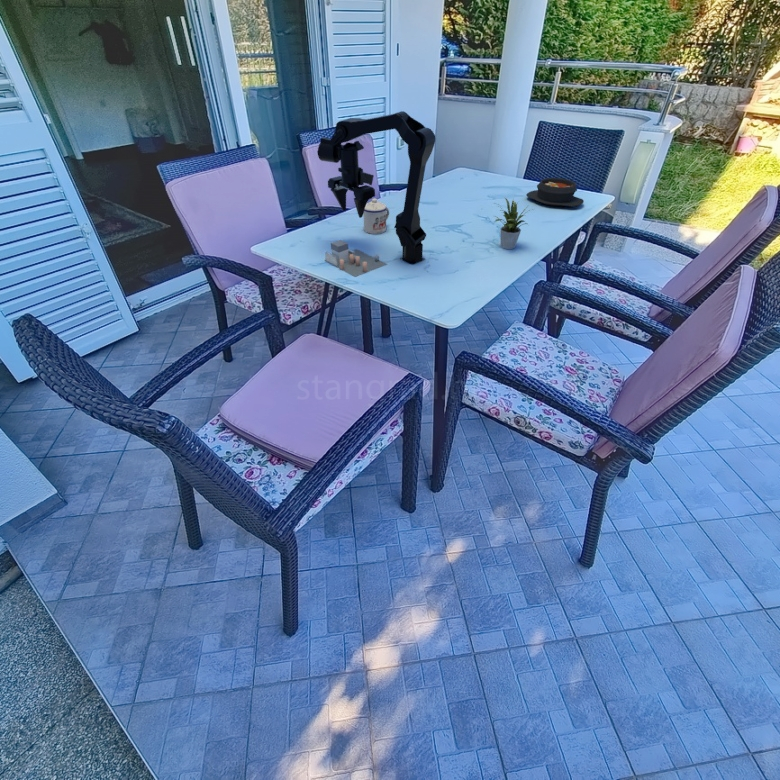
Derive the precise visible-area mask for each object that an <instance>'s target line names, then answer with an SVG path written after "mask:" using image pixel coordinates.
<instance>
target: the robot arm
mask: <svg viewBox="0 0 780 780" xmlns="http://www.w3.org/2000/svg"><path fill="white" fill-rule="evenodd" d="M391 130H395V131H396V132H397V133H398V135H399V137H400V138H401V140H402V142H404V143H406V145H407V155H408V158H409V171H408V178H407V184H406V185H407V186H406V190H405V198H404V199H405V200H404V203H403V205H404V206H403V210H402V211H401V212H400V213H398V214H396V216H395V225H394V229H395V234H396V235H397V237H398V239H399V242H400V246H401V247H402V256H401V257H400V258H399V260H400V261H403V262H405V263H407V264H410V265H411V266H412V265H415V264H418V263H421V262H423V261H425V260H426V258H424V257H423V248H424V245H423V243H422V242H423V241H425V239H426V238H427V237H426V236H427V233H426V232H425V230H424V229H423V228H422V226H421V216H420V213H419V207H420V202H421V195H422V190H423V189H422V188H423V184H424V183H423V182H424V177H425V173H426V172H425V170H426V166H427V162H428V161H429V158H430V157H431V155H432V152H433V149H434V147H435V143H436V135H435V133H434V131H433V130H432V129H431V128H430V127H426V126H425V125H424V124H423V123H421V122H420V121H419V120H416V119H415V118H413V117H411V116H410V115H409V114H408V113H407V112H406V111H402V110H401V111H398V112H395V113H392V114H391V113H390V114H387V115H380V116H376V117H371V118H361V117H350V118H346V119H343V120H340V121H338V122H337V123H336V124H335V129H334V133H333V134H332V135H331V136H332V137H331V138H329V137H325V136H324V137H320V140H319V141H320V143H319V144H318V147H317V151H316V152H317V157H318V158H319V160H320V161H322V162H327V163H328V162H329V163H335V164H337V163H339V162H340V167H338V168H337V170H338V172H339V173H341V174H340V175H339V176H335V177H329V179H327V187H328V189H330V191H331V192H332V194H333V195H334V197H335V198H336V200H337V202H338V204H339V206H340V208H341V210H342V211H343V212H345V211H346V210H347V193H348V191H350V192H353V196H354V198H353V200H354V201H353V202H354V205H355V208H356V212H357V215H358V218H360V219H361V218H363V217H364V214H363V213H364V210H365V206H366V204H367V203H368V201H370V200H372V199H373V198H375V197H376V189H375V188H374V187H372V185H373V181H374V175H373V174H370V173H368V172H364V169H363V168H362V167H360V166H359V152H360V151H361V150H364V149H365V146H364V145H363V144H361V142H360V141H359V140H356V139H357V138H360V137H363V136H364V135H368V134H374V133H380V132H385V131H391ZM353 140H356V141H354V142H350V141H353ZM344 143H345V144H344ZM364 184H368V185H364Z"/></svg>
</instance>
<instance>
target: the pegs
mask: <svg viewBox="0 0 780 780" xmlns="http://www.w3.org/2000/svg"><path fill="white" fill-rule="evenodd" d="M349 258H350V264H354V263H356V266H360V256H354V255H353V254H350V255H349ZM374 258H375V262H379V260H380V254H374ZM339 261H340V269H339V270H341V271H343V270H344V260H343V259H340V260H339ZM363 272H367V262H363ZM367 273H368V272H367Z"/></svg>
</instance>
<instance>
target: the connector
mask: <svg viewBox="0 0 780 780" xmlns="http://www.w3.org/2000/svg"><path fill="white" fill-rule="evenodd" d="M330 247H331V248H330V249H331V254H333V255H335V256H336V257H338V259H339V260H340V259H343V260H344V262H347V261H349V253H348V249H349V243H348V242H345V241H344V240H342V239H340V240H339V239H338V240H336V241H333V242H331V243H330ZM339 264H340V261H339Z"/></svg>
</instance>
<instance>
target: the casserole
mask: <svg viewBox="0 0 780 780" xmlns="http://www.w3.org/2000/svg"><path fill="white" fill-rule="evenodd" d="M536 188H537V189H536V190H531V191H529V192H528V193H526V197H527V198H529V199H532V200H534V201H537V202H538V203H541V204H543V205H545V206H549V207H563V206H564V207H579V206H581V205H582V204H584V200H583V198H581V197H577V196H575V193H576V192H577V191H578V188H577V183H576V182H575V181H573V180H570V179H566V178H561V177H560V178H559V177H548V178H547V177H546V178H543V179H541V180H540V181H539V183H538V184H537V185H536Z"/></svg>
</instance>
